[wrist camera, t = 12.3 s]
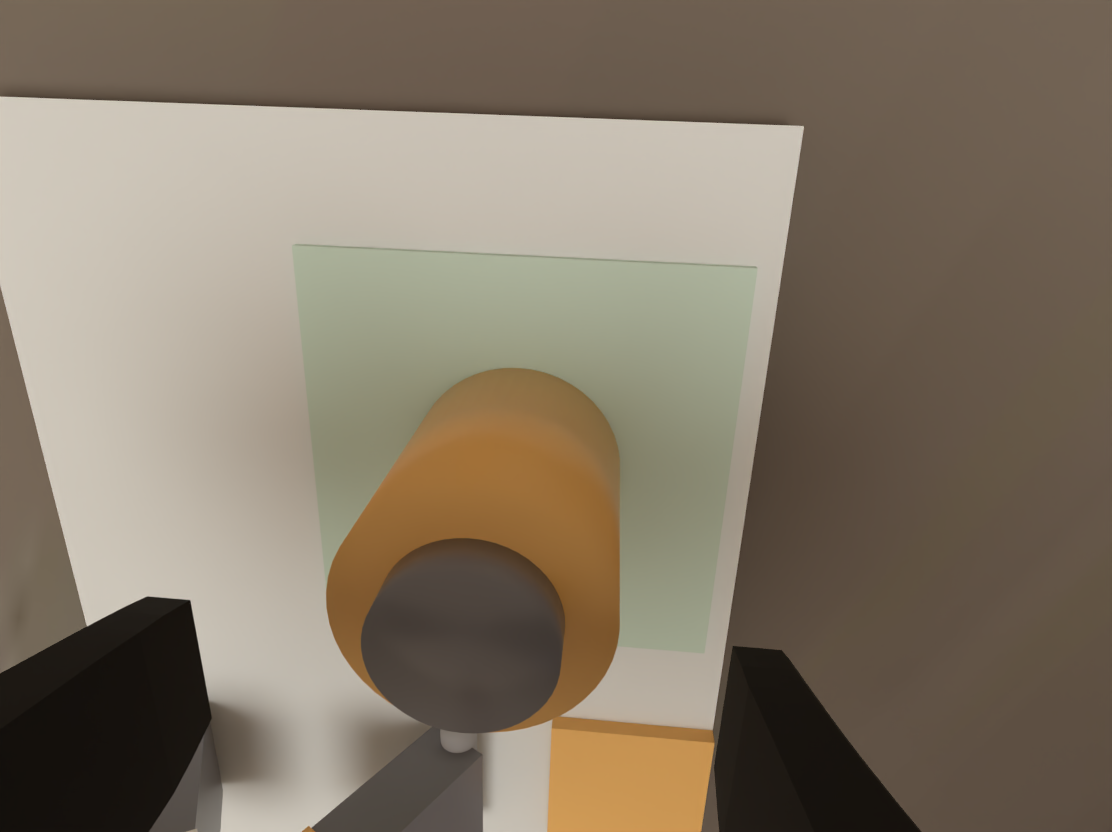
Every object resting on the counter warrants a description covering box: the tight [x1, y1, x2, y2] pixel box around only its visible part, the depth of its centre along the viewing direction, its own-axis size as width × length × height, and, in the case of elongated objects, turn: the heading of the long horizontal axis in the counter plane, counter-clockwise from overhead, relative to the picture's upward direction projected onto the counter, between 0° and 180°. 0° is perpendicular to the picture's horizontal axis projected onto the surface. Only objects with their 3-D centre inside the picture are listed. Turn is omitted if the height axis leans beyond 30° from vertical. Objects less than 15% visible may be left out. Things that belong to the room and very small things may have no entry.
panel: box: [0, 97, 804, 832], centre depth 17 cm, size 20×16×2 cm
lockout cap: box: [326, 368, 620, 734], centre depth 13 cm, size 4×4×6 cm
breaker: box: [149, 723, 223, 832], centre depth 17 cm, size 4×2×5 cm, turn 178°
